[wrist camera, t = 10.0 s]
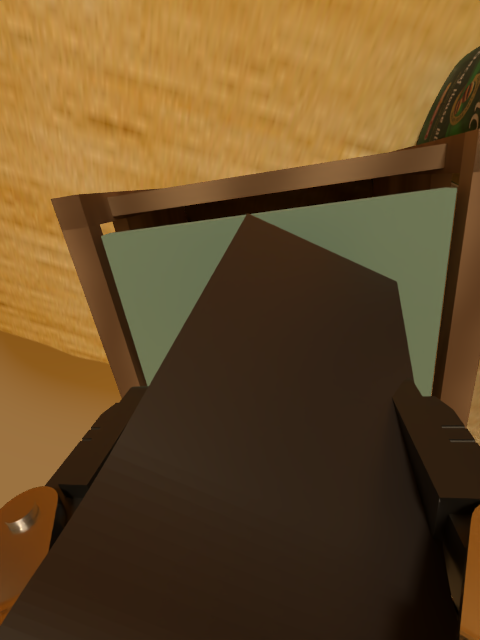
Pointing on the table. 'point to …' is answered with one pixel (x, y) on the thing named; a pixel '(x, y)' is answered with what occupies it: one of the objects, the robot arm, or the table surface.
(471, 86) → the coffee jar
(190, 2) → the table surface
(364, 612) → the phone stand
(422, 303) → the trapdoor
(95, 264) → the wooden crate
